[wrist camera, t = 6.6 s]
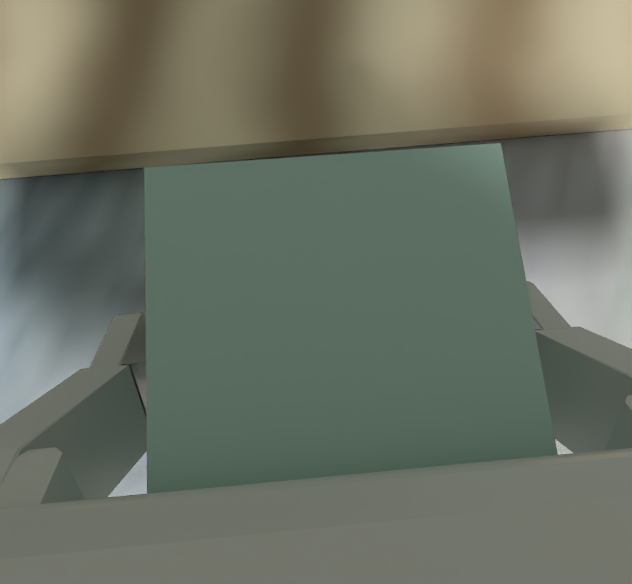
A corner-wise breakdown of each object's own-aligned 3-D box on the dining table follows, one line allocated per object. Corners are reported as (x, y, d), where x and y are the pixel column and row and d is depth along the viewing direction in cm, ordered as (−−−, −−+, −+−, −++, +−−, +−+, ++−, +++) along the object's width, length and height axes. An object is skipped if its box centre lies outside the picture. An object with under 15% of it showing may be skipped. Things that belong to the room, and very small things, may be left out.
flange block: (186, 533, 13) (10, 728, 5) (179, 248, 15) (37, 79, 7) (480, 504, 13) (724, 652, 6) (440, 228, 15) (583, 44, 7)
